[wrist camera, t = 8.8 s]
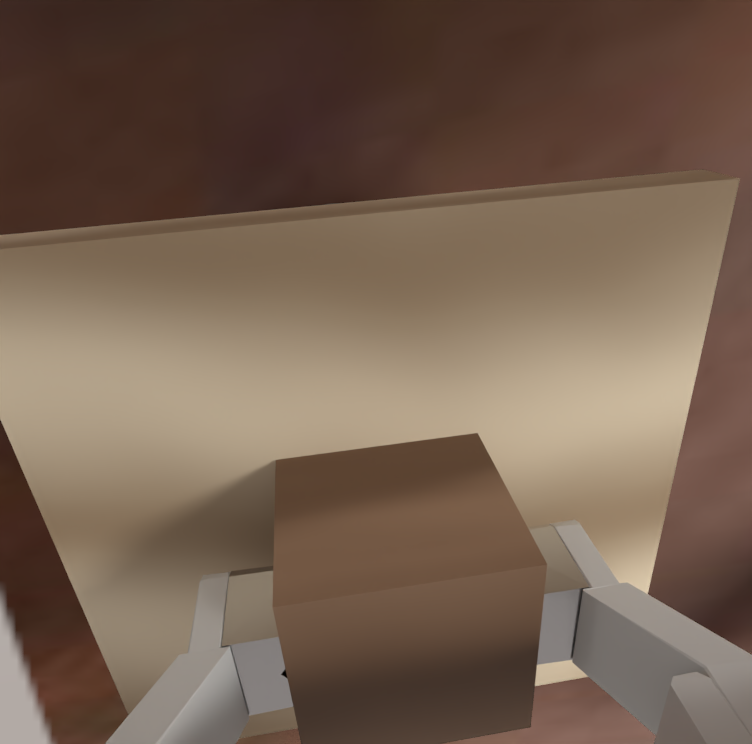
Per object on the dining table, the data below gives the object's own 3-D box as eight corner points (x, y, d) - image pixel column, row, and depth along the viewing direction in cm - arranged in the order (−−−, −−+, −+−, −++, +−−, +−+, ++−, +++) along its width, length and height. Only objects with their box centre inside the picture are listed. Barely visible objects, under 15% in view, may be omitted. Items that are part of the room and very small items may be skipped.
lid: (-38, 238, 10) (-266, 358, 6) (702, 169, 11) (944, 227, 7) (153, 716, 16) (109, 935, 12) (612, 637, 17) (713, 811, 13)
